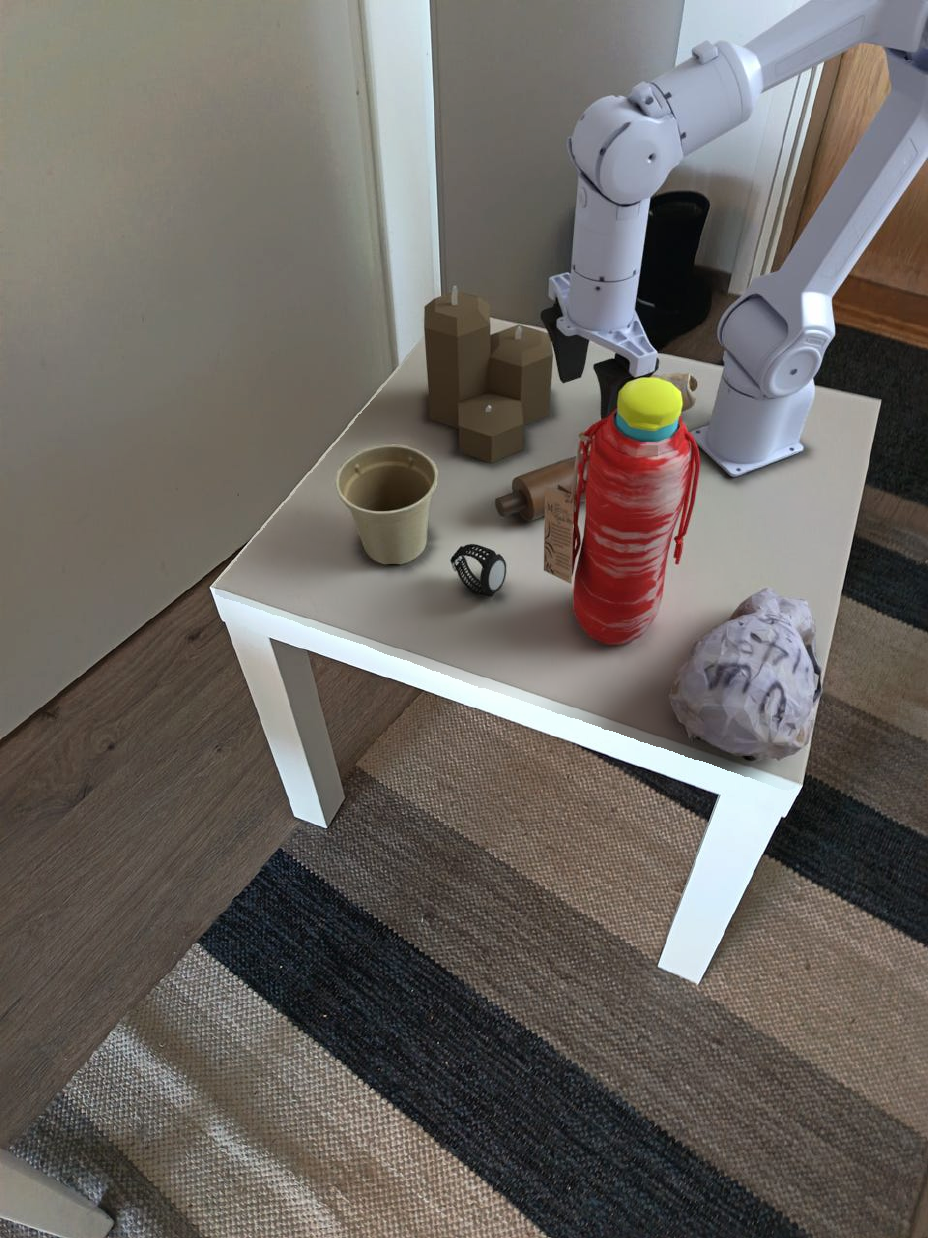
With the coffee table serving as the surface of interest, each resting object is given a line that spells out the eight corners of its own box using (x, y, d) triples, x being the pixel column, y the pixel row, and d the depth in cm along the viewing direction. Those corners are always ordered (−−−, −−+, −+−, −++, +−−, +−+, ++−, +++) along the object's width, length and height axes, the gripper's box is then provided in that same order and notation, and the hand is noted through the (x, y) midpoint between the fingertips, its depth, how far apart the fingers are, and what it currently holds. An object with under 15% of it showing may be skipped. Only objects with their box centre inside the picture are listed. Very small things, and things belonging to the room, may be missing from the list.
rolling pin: (614, 464, 92) (619, 429, 88) (639, 490, 89) (645, 455, 85) (488, 510, 88) (488, 476, 84) (509, 539, 85) (510, 504, 81)
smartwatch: (480, 613, 79) (479, 576, 75) (447, 580, 82) (445, 543, 78) (515, 592, 81) (516, 555, 77) (481, 560, 83) (481, 523, 79)
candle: (399, 431, 96) (386, 309, 84) (458, 367, 103) (454, 246, 92) (507, 468, 91) (510, 344, 80) (561, 398, 99) (571, 276, 87)
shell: (626, 423, 96) (620, 382, 94) (628, 415, 100) (623, 375, 98) (700, 411, 94) (695, 369, 92) (699, 402, 98) (695, 362, 96)
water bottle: (520, 635, 77) (529, 407, 58) (543, 572, 82) (559, 341, 63) (653, 668, 75) (710, 440, 55) (669, 601, 79) (727, 369, 60)
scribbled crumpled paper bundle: (744, 611, 80) (778, 529, 73) (863, 680, 75) (911, 599, 68) (626, 729, 70) (652, 647, 63) (754, 818, 65) (798, 740, 58)
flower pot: (330, 564, 83) (316, 498, 77) (372, 501, 89) (362, 434, 82) (419, 589, 81) (412, 523, 74) (456, 523, 86) (453, 456, 80)
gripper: (521, 237, 74) (517, 371, 85) (612, 319, 66) (595, 456, 77) (591, 218, 76) (578, 352, 87) (688, 295, 68) (661, 433, 78)
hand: (591, 399), depth 82 cm, fingers open, 7 cm apart
